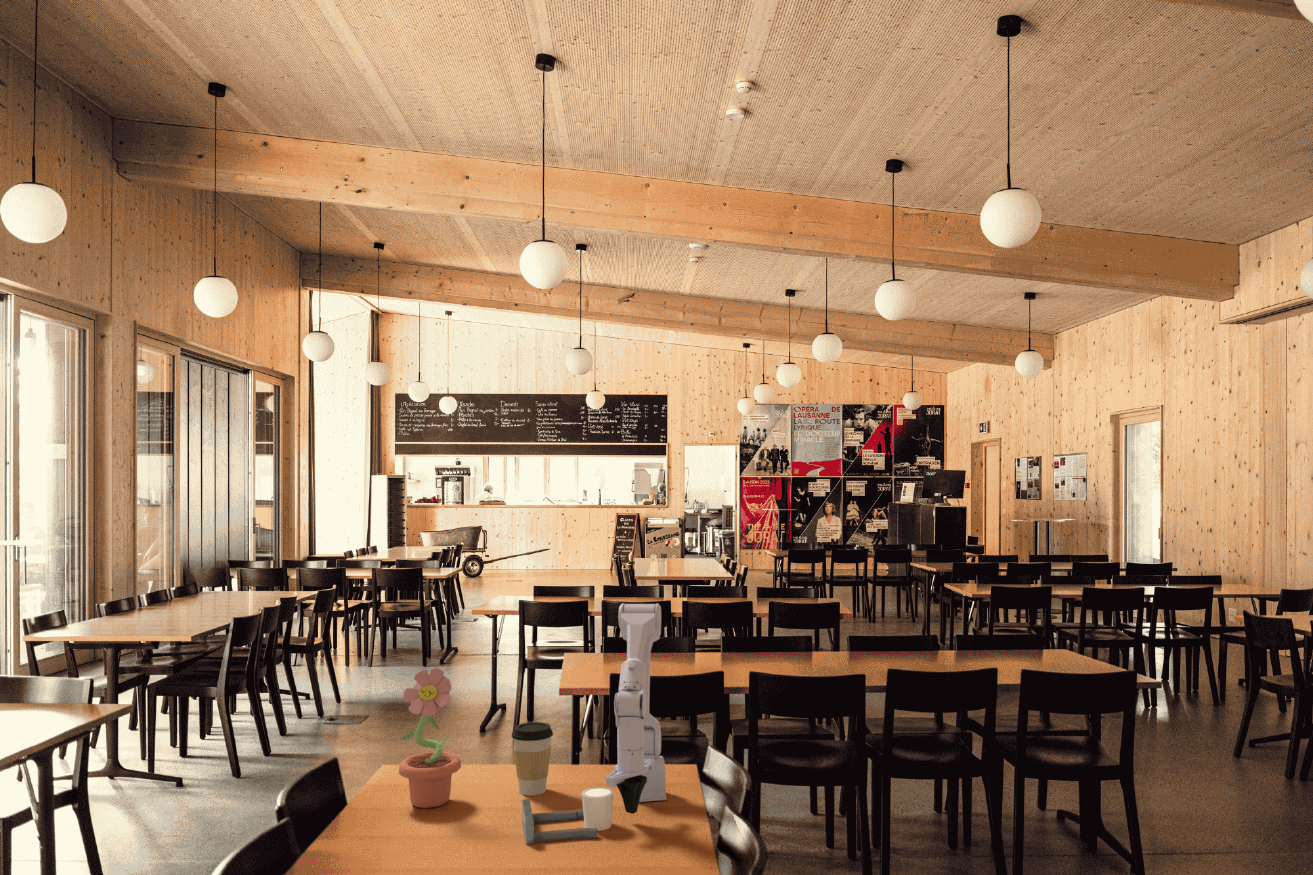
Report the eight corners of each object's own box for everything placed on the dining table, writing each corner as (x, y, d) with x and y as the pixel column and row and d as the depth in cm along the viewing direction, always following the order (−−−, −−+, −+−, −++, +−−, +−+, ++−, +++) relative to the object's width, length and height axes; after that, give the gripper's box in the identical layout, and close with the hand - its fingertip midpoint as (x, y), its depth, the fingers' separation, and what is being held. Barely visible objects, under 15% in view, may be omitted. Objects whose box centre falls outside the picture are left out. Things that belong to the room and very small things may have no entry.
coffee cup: (557, 784, 213) (557, 721, 214) (548, 798, 203) (548, 732, 204) (517, 783, 214) (517, 721, 215) (506, 797, 204) (506, 732, 205)
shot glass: (601, 834, 182) (601, 799, 182) (575, 827, 186) (574, 794, 186) (620, 823, 188) (620, 789, 188) (594, 817, 192) (594, 784, 192)
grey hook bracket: (589, 814, 193) (589, 793, 194) (598, 838, 180) (598, 816, 180) (522, 820, 190) (522, 798, 191) (526, 845, 177) (526, 822, 177)
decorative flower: (383, 812, 196) (384, 675, 198) (410, 791, 210) (410, 663, 211) (446, 815, 194) (447, 677, 196) (469, 793, 207) (469, 664, 209)
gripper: (636, 736, 197) (636, 798, 197) (594, 752, 186) (595, 818, 185) (661, 741, 193) (662, 804, 193) (621, 758, 182) (621, 825, 181)
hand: (631, 811), depth 188 cm, fingers closed
